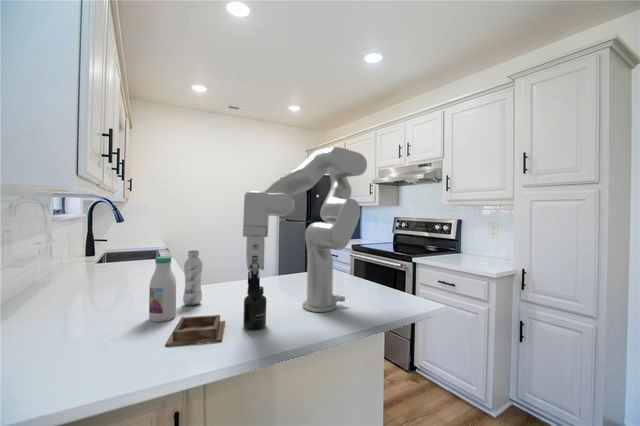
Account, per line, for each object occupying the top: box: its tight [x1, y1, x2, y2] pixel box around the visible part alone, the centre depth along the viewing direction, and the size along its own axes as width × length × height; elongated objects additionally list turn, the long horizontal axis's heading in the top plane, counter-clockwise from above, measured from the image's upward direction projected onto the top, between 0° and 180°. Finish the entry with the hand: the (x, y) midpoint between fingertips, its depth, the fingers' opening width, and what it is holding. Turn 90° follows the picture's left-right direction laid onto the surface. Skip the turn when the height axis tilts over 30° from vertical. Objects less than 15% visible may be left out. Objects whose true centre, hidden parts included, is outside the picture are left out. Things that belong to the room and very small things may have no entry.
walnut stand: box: [164, 314, 226, 348], centre depth 85 cm, size 14×14×3 cm
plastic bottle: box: [182, 250, 203, 306], centre depth 111 cm, size 6×7×20 cm
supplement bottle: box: [242, 285, 267, 331], centre depth 91 cm, size 7×7×12 cm
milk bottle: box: [148, 255, 177, 323], centre depth 97 cm, size 8×8×20 cm
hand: (253, 287), depth 90 cm, fingers open, 9 cm apart
